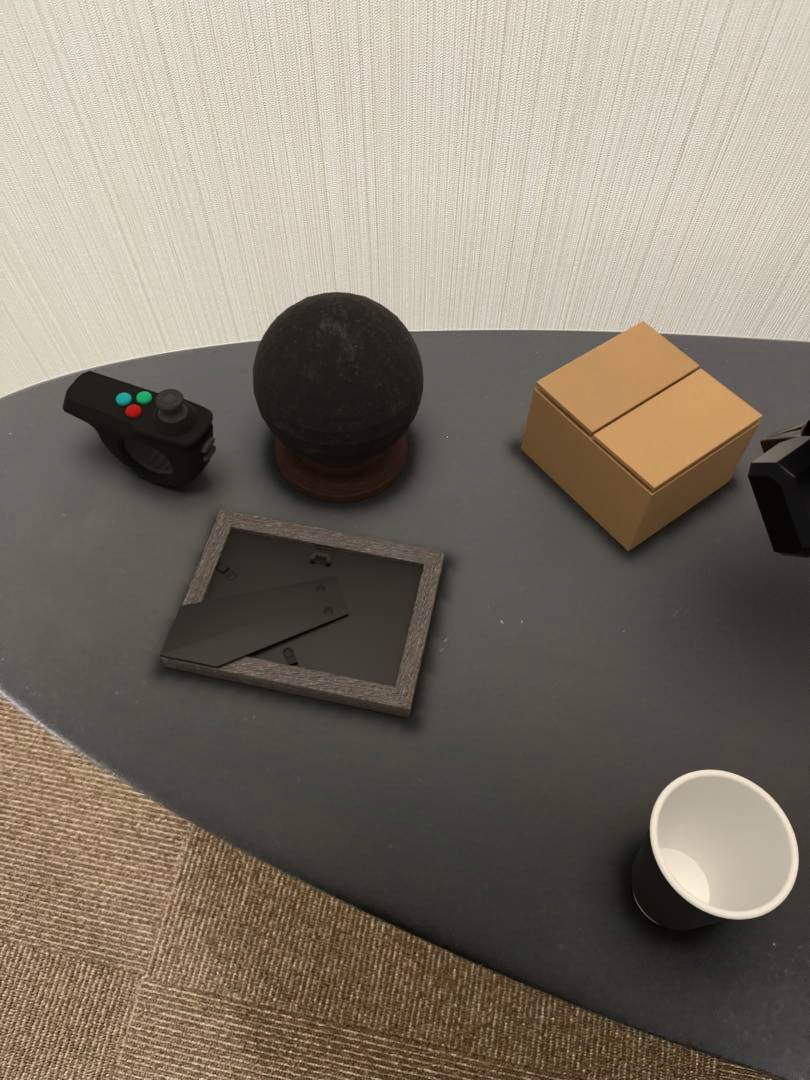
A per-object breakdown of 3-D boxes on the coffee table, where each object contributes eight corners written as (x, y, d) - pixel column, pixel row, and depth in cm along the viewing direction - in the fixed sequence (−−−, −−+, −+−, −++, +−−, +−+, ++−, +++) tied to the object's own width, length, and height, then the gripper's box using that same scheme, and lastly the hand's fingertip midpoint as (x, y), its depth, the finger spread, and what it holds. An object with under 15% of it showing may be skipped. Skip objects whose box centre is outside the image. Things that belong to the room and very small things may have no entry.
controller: (208, 511, 73) (186, 430, 65) (77, 462, 76) (41, 377, 67) (234, 473, 75) (216, 389, 67) (107, 426, 78) (75, 340, 70)
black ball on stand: (386, 532, 73) (389, 404, 60) (237, 484, 75) (210, 351, 62) (439, 416, 80) (452, 280, 67) (301, 376, 82) (289, 237, 69)
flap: (761, 418, 70) (762, 415, 70) (653, 491, 66) (654, 487, 65) (699, 371, 73) (700, 367, 73) (592, 437, 69) (593, 434, 68)
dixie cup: (734, 967, 55) (806, 931, 46) (604, 943, 56) (649, 903, 47) (729, 837, 60) (794, 781, 51) (609, 817, 60) (651, 757, 51)
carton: (728, 481, 77) (764, 415, 70) (628, 551, 72) (654, 488, 65) (620, 389, 82) (642, 319, 75) (520, 449, 78) (534, 381, 71)
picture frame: (165, 667, 65) (409, 718, 64) (159, 654, 64) (410, 706, 62) (223, 520, 73) (443, 562, 71) (219, 505, 71) (445, 548, 70)
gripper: (1057, 230, 50) (817, 282, 64) (846, 373, 43) (629, 396, 57) (1098, 414, 53) (860, 425, 67) (907, 574, 46) (686, 549, 60)
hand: (765, 444), depth 63 cm, fingers closed
